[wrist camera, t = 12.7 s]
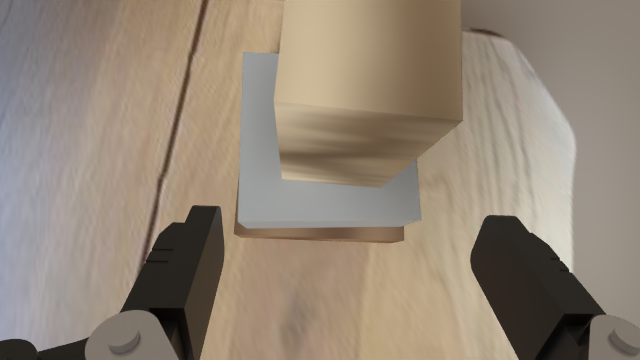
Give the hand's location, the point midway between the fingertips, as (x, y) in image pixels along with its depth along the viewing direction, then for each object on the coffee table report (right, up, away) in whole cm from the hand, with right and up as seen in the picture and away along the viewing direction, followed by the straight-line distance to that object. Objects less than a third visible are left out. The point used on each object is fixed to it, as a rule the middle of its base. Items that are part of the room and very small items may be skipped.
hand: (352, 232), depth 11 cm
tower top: (-1, +3, +14) cm, 14 cm away
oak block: (0, +4, +10) cm, 11 cm away
